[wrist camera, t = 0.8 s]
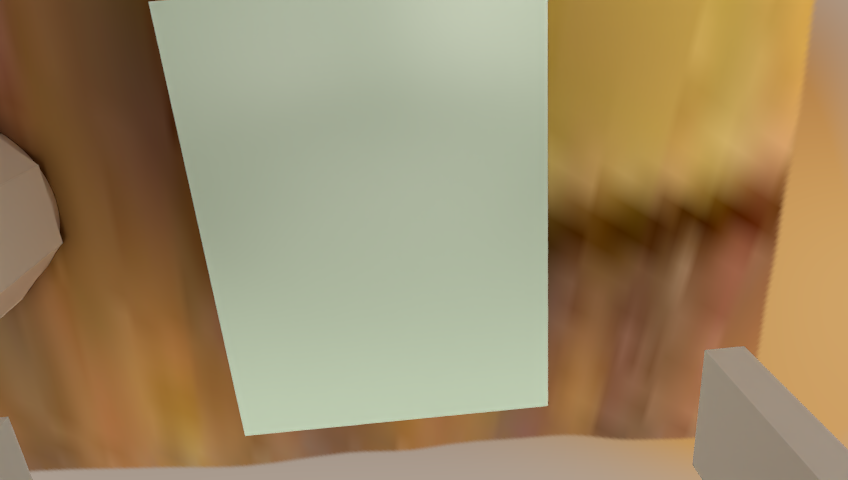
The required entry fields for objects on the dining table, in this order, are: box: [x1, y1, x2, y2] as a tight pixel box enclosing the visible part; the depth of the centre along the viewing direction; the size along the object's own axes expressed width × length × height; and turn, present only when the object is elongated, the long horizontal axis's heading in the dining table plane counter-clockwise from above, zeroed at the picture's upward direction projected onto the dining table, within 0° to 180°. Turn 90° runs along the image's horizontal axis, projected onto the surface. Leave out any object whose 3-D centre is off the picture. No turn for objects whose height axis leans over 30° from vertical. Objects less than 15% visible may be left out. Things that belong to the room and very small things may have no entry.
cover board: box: [149, 0, 548, 436], centre depth 23 cm, size 16×12×2 cm
